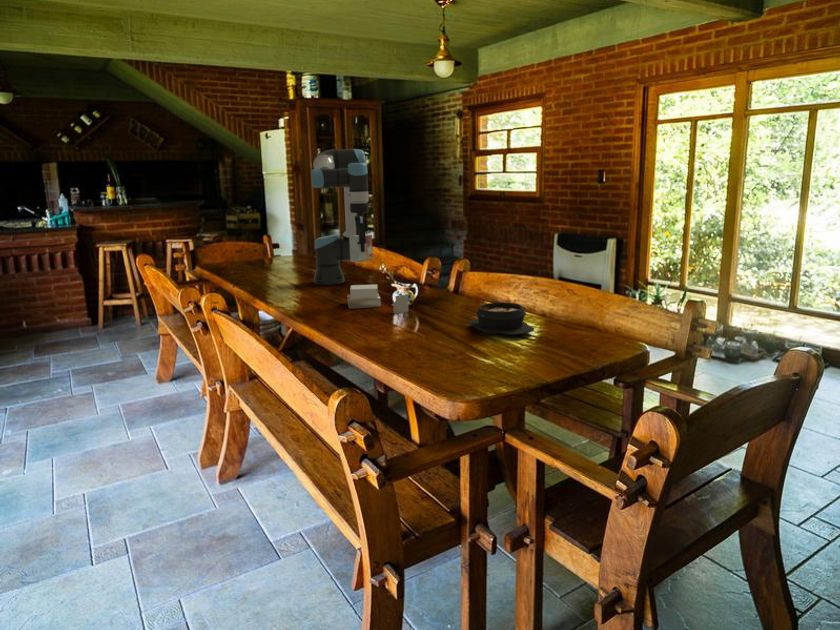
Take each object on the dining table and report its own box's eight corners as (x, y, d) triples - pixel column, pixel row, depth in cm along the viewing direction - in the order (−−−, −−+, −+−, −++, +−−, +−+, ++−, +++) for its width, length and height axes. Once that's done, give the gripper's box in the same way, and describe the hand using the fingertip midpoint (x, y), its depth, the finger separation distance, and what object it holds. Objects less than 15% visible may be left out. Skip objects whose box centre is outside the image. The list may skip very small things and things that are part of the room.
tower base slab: (347, 304, 254) (347, 294, 253) (378, 302, 256) (377, 293, 255) (349, 309, 243) (348, 300, 242) (381, 307, 245) (380, 298, 244)
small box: (360, 262, 241) (358, 236, 238) (350, 261, 244) (348, 235, 241) (373, 260, 247) (372, 234, 244) (363, 259, 250) (362, 233, 248)
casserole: (456, 328, 210) (456, 304, 208) (496, 319, 220) (496, 297, 218) (505, 343, 190) (505, 318, 188) (546, 333, 200) (547, 309, 198)
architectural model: (391, 313, 235) (390, 295, 233) (406, 310, 239) (405, 292, 237) (396, 315, 232) (395, 296, 231) (411, 312, 236) (410, 293, 234)
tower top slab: (351, 294, 253) (351, 285, 252) (377, 293, 254) (377, 284, 253) (350, 299, 244) (350, 289, 243) (377, 298, 245) (377, 288, 244)
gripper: (347, 201, 250) (350, 255, 255) (351, 204, 229) (354, 262, 234) (365, 201, 251) (368, 254, 256) (371, 203, 230) (373, 261, 235)
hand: (361, 258), depth 245 cm, fingers closed on small box, 9 cm apart
